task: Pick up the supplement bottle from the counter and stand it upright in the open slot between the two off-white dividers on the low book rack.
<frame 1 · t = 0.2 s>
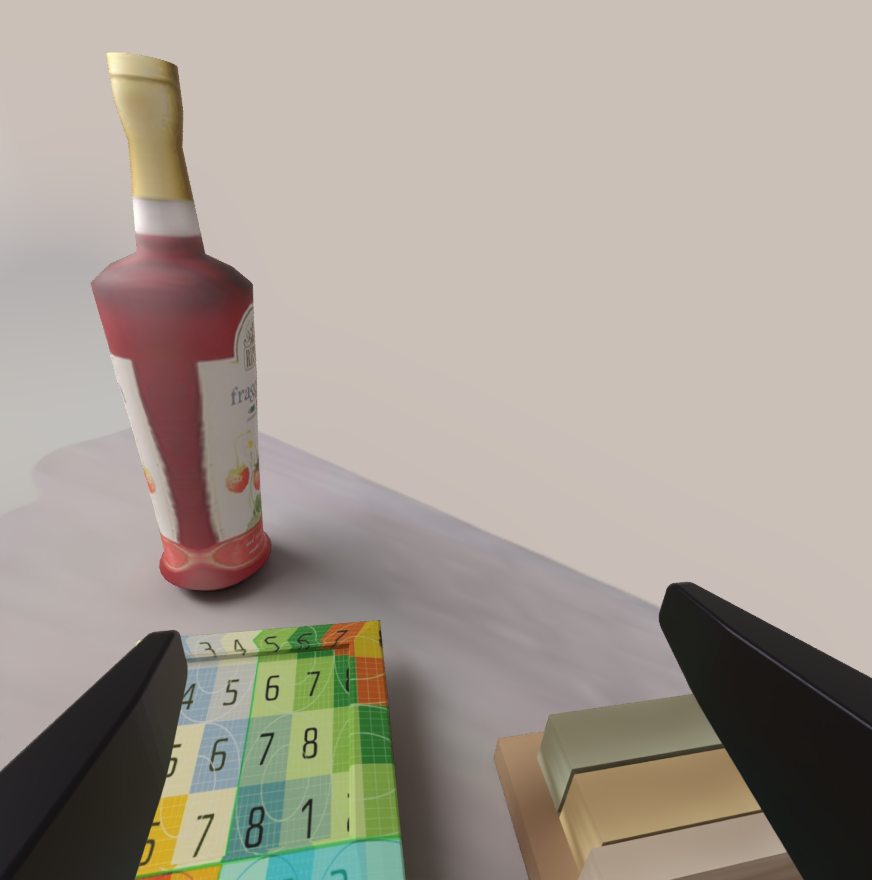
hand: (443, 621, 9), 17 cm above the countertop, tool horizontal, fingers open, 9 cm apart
liquor: (220, 570, 33), on the countertop
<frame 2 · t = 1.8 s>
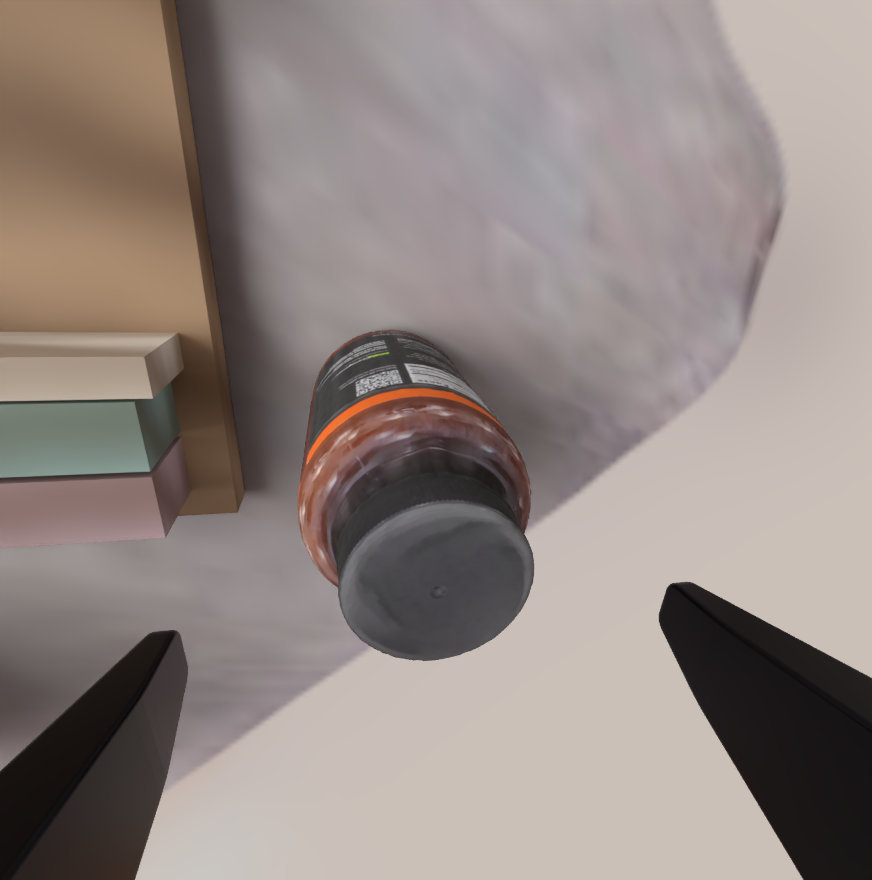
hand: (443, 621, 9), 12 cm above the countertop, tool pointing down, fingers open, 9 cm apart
supplement bottle: (387, 397, 20), on the countertop
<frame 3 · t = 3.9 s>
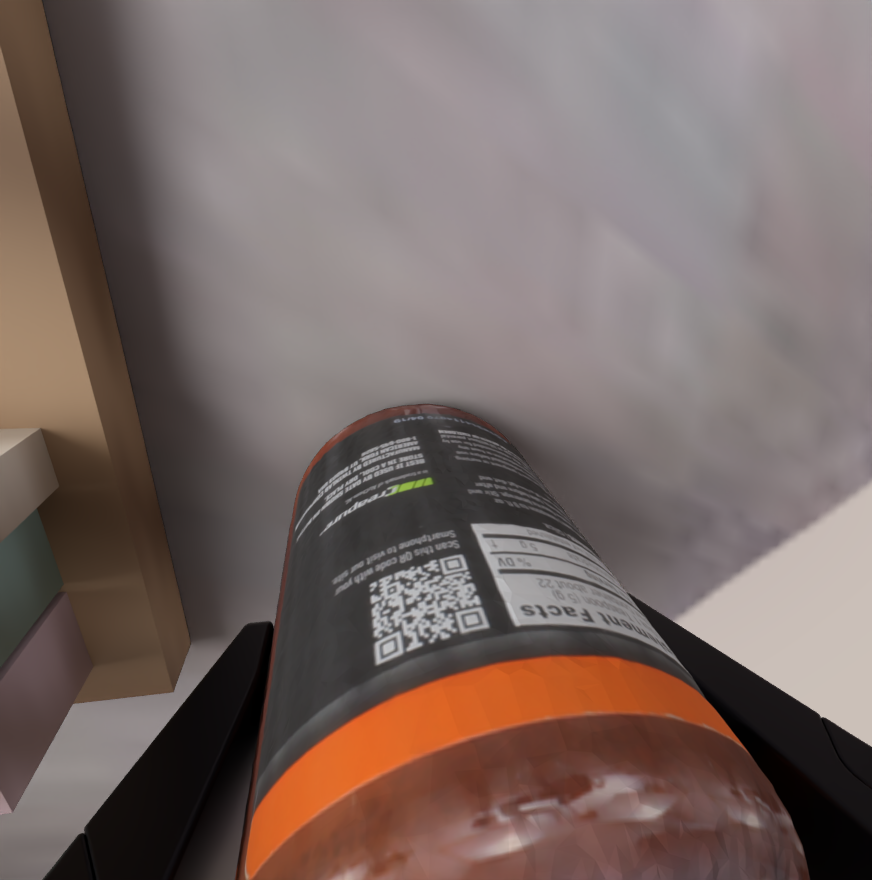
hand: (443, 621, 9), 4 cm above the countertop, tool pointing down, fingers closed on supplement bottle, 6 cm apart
supplement bottle: (413, 499, 13), on the countertop, touching gripper
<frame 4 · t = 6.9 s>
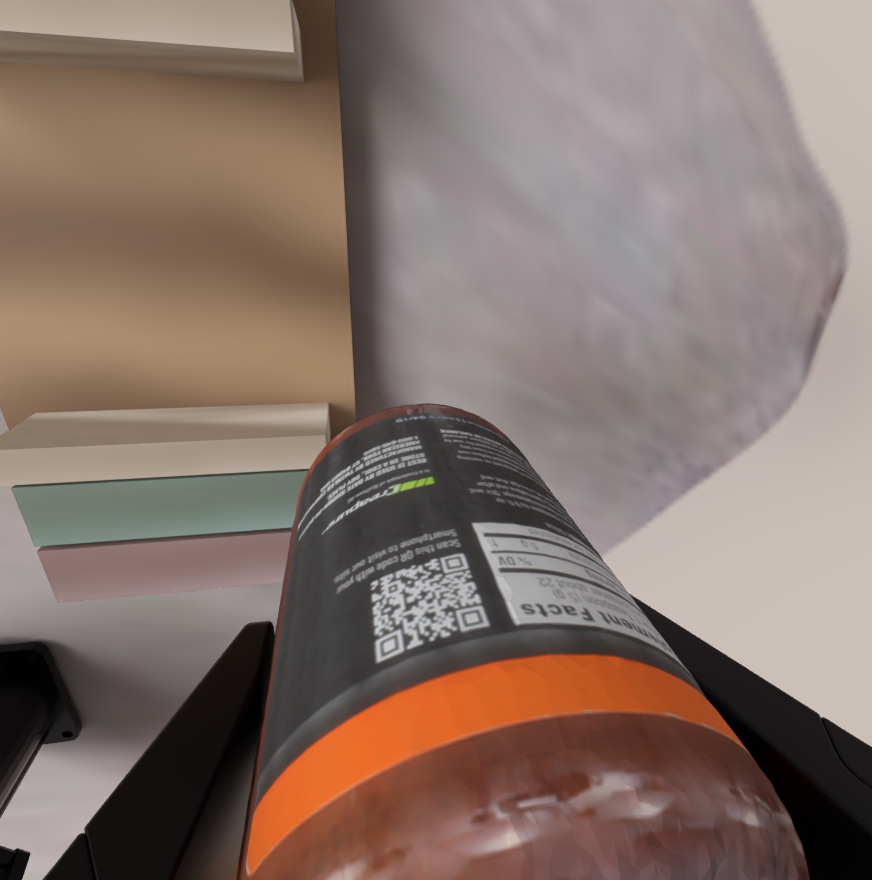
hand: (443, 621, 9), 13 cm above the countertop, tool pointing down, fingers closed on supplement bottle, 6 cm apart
supplement bottle: (416, 499, 13), point 8 cm above the countertop, touching gripper
book rack: (173, 257, 17), on the countertop
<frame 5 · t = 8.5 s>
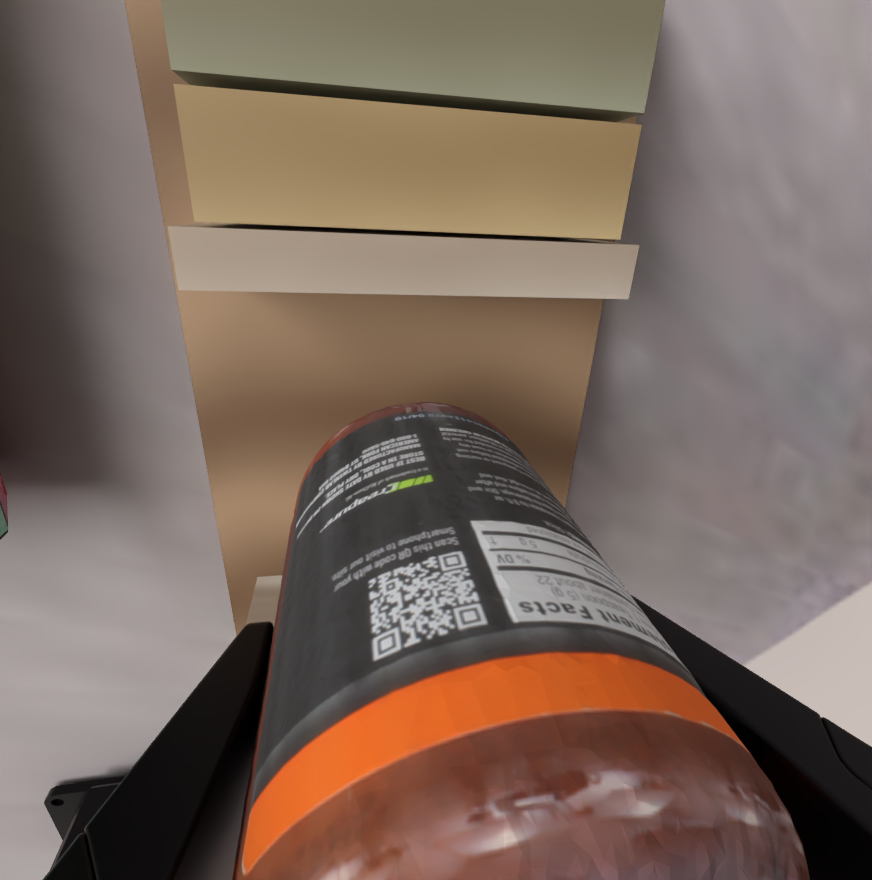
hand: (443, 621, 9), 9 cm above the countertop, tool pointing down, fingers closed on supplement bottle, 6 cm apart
supplement bottle: (415, 498, 13), point 5 cm above the countertop, touching gripper
book rack: (398, 423, 17), on the countertop
when the fingers open (6 cm above the countertop, at t = 10.0 s): supplement bottle stays where it is, resting on book rack.
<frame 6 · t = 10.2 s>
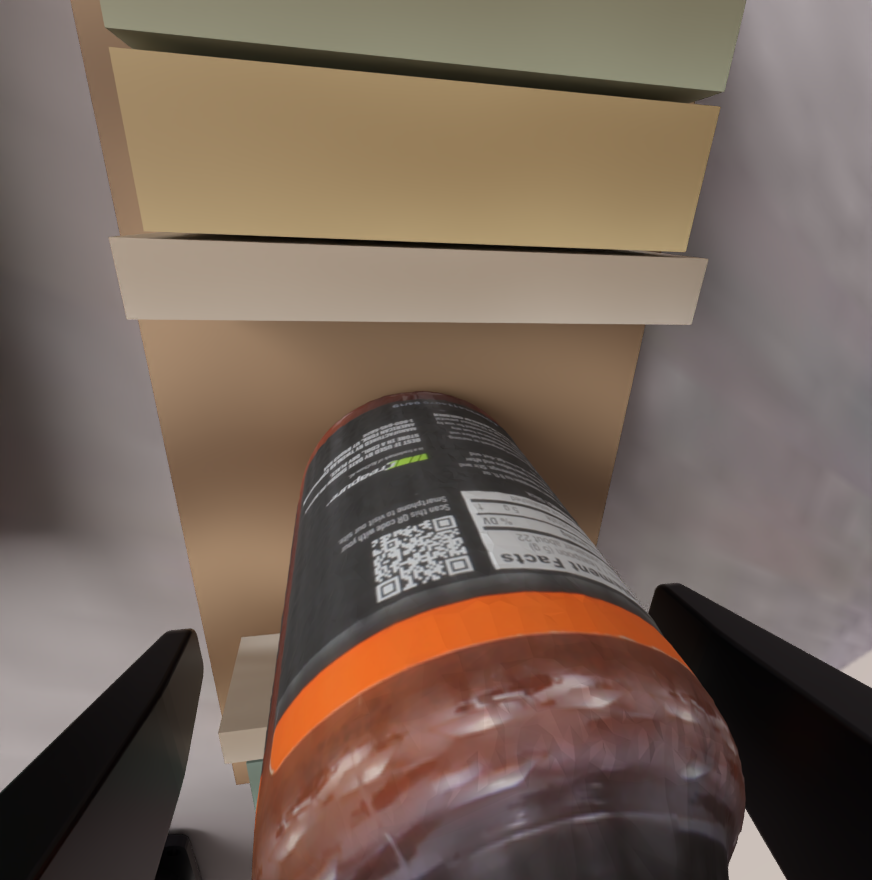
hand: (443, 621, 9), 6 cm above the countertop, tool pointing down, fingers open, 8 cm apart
supplement bottle: (412, 482, 13), point 1 cm above the countertop, touching book rack
book rack: (404, 459, 15), on the countertop
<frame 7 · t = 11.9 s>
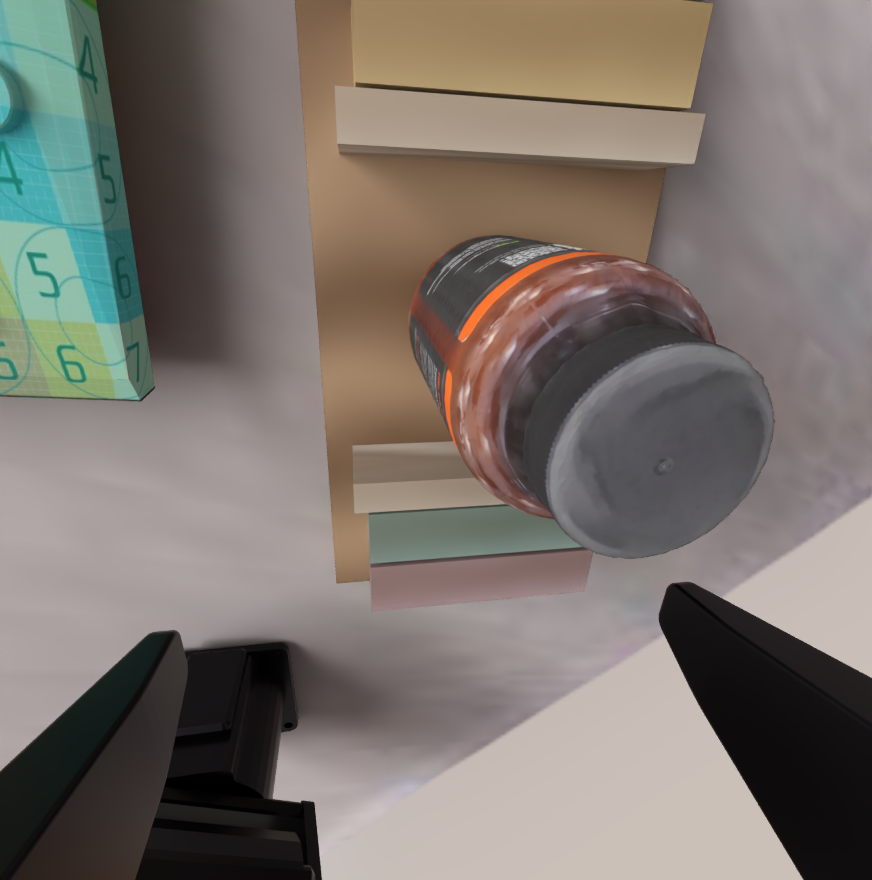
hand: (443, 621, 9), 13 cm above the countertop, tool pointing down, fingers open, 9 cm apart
supplement bottle: (484, 318, 18), point 1 cm above the countertop, touching book rack
book rack: (475, 310, 19), on the countertop
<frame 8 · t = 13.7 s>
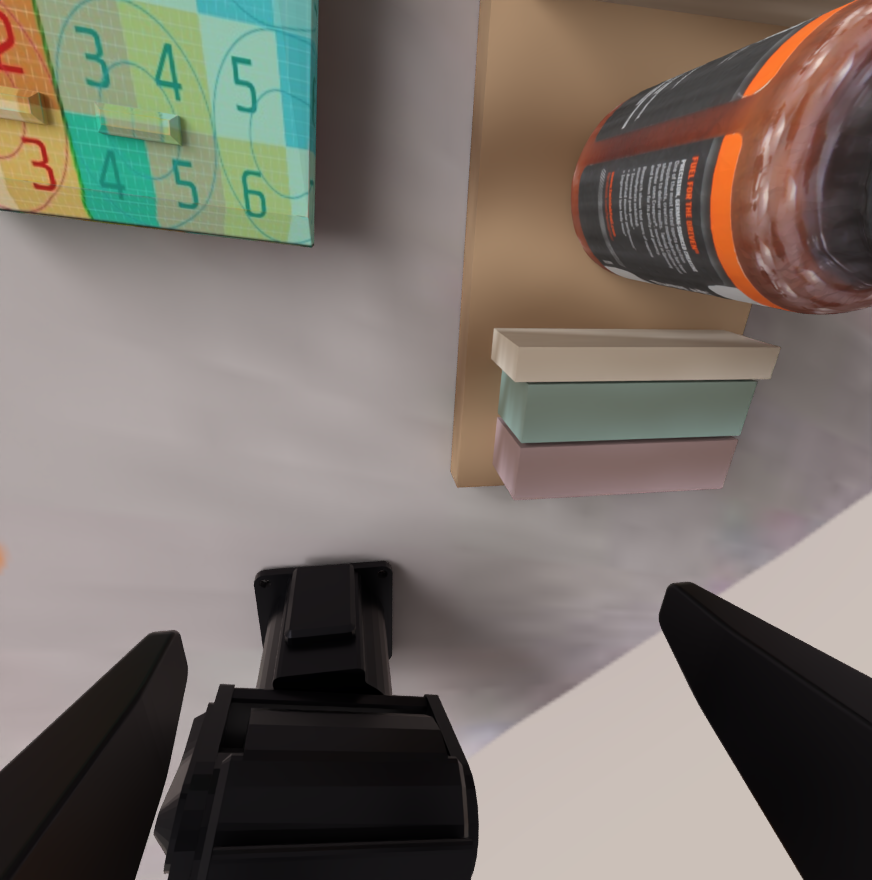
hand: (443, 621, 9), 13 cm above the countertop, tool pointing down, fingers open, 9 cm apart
supplement bottle: (639, 190, 18), point 1 cm above the countertop, touching book rack
book rack: (619, 191, 19), on the countertop
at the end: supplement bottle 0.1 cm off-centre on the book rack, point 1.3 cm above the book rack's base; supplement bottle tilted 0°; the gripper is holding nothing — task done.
